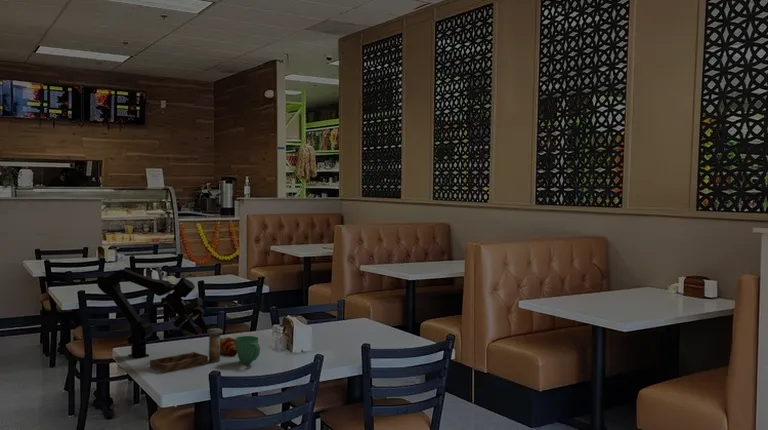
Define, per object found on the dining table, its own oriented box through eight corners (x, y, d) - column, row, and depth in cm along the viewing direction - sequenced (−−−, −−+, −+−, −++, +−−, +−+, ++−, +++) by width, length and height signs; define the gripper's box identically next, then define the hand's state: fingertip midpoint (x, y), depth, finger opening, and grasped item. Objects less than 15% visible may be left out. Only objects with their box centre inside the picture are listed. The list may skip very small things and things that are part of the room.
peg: (203, 361, 277) (204, 329, 276) (216, 358, 281) (216, 327, 281) (212, 363, 273) (213, 332, 272) (224, 361, 277) (225, 330, 277)
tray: (165, 373, 258) (165, 365, 258) (150, 367, 265) (150, 360, 265) (208, 363, 273) (208, 356, 273) (193, 358, 280) (193, 351, 280)
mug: (230, 361, 277) (230, 337, 277) (250, 357, 284) (251, 334, 283) (247, 369, 266) (247, 344, 266) (268, 365, 273) (268, 341, 272)
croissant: (211, 354, 301) (203, 340, 298) (229, 342, 306) (222, 328, 304) (230, 364, 284) (222, 349, 282) (249, 350, 289) (241, 335, 287)
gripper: (181, 295, 268) (206, 323, 267) (200, 288, 287) (224, 314, 286) (162, 313, 270) (188, 341, 268) (182, 305, 288) (206, 332, 287)
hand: (202, 331), depth 277 cm, fingers open, 9 cm apart
